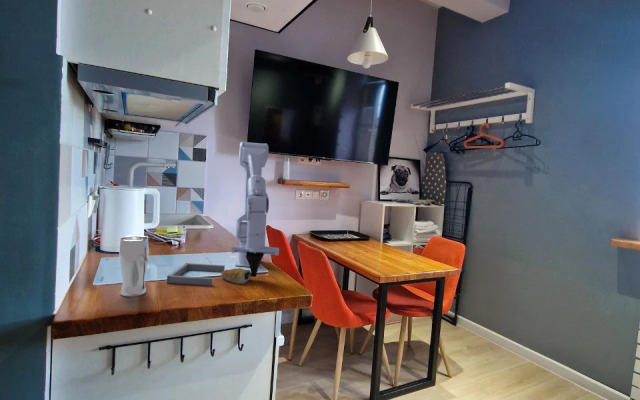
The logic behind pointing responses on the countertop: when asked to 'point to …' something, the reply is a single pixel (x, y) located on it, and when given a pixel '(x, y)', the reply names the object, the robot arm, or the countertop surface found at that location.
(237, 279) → the pastry
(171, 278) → the tray slot
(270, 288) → the countertop surface
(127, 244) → the beer glass
